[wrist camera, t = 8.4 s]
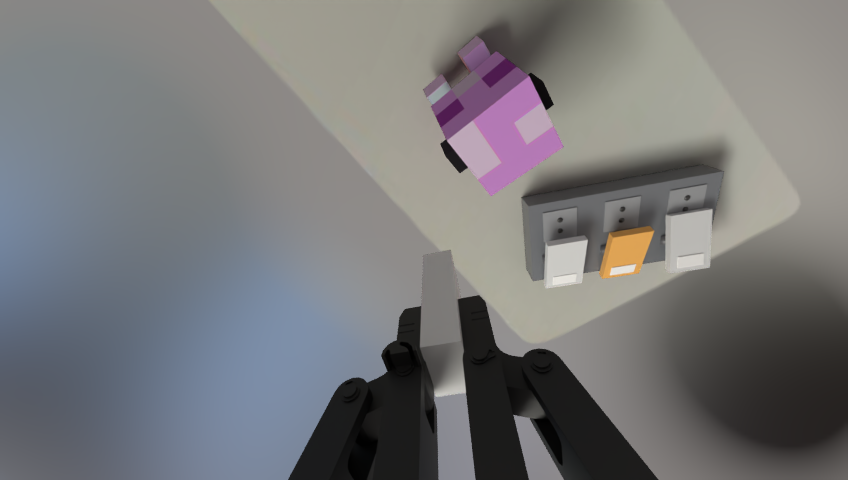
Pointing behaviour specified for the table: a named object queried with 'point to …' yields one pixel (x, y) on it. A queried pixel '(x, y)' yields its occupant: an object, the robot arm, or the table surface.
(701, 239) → the rocker
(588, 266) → the power strip
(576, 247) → the rocker
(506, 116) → the toy
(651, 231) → the plate
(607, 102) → the table surface
